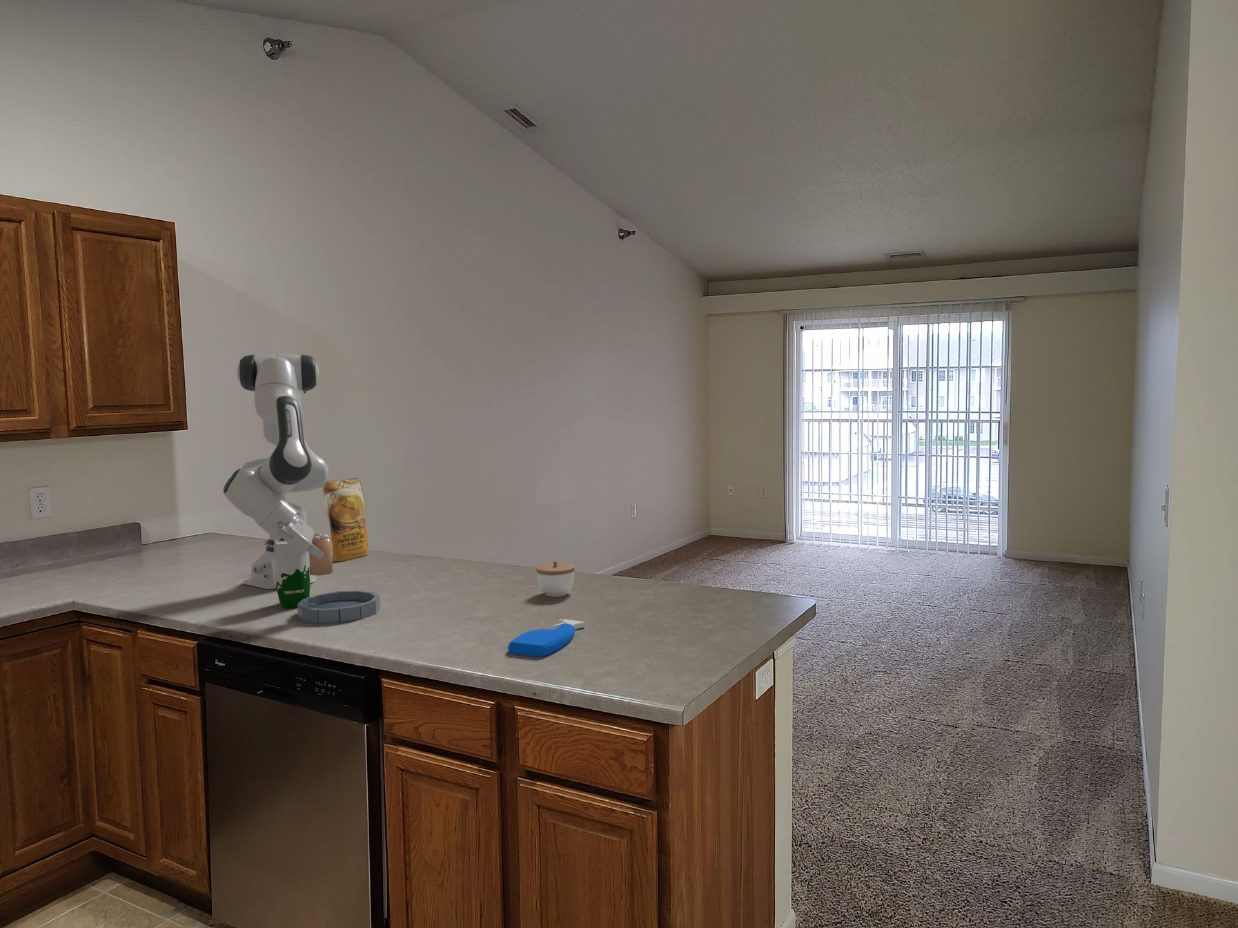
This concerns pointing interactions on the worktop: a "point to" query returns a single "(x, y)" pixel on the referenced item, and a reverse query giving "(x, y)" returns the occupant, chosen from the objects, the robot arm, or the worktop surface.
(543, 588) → the lidded jar
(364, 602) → the slate bowl
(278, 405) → the robot arm
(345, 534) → the pancake mix bag
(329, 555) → the pebble cup
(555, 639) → the spray bottle
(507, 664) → the worktop surface
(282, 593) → the milk carton
